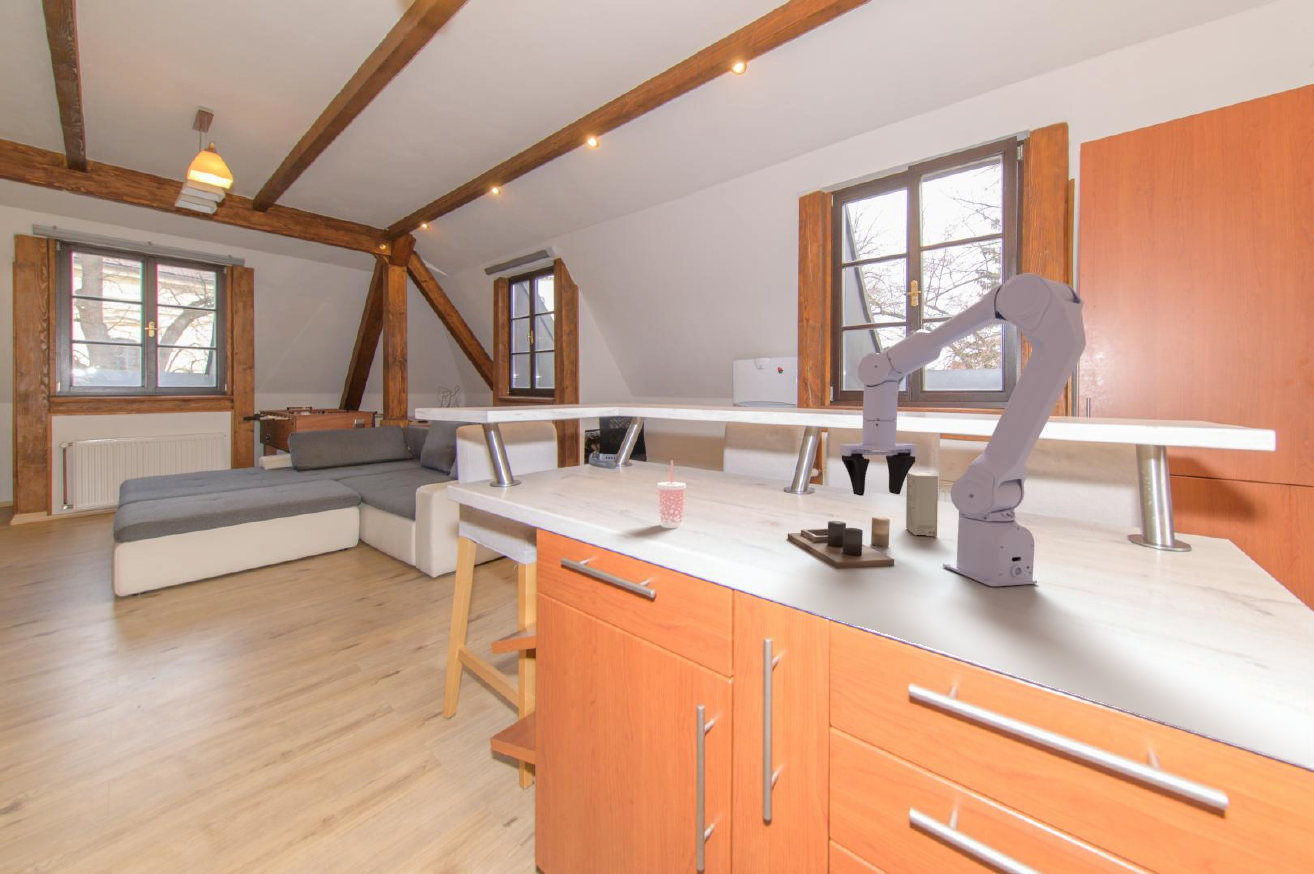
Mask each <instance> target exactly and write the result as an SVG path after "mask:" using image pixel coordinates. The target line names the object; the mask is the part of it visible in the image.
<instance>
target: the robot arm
mask: <svg viewBox="0 0 1314 874" xmlns="http://www.w3.org/2000/svg"><path fill="white" fill-rule="evenodd" d="M1084 304H1085V303H1084V301H1083V299H1082V298H1081V297H1080V296H1079V294H1078V293H1077V292H1076V290H1075V289H1074V288H1073V287H1072V286H1071V285H1069V284H1068V283H1065V282H1062V281H1056V280H1052V279H1049V278H1045V277H1043V276H1042V275H1039V274H1037V273H1033V272H1032V273H1031V272H1027V273H1026V272H1024V273H1020V274H1017V275H1015V276H1013V277H1010V278H1009V279H1008V280H1007V281H1006V282H1005V283H1001V284H998V285H996V286H994V287H992V288H991V289H990V290H989V291H987V292H986V293H985V295H984V296H982V297H981V298H979V299H978V300H977V301H975V302H974V303H972V304H971V305H969V306H967V307H966V308H964V309H963V310H961V311H960V312H958V313H957V314H954V315H953V316H952V317H950V318H949V319H948V320H946V321H944V322H942V324H939V325H938V326H936V327H935V328H933V329H932V330H930V331H928V330H925V329H918V330H910V331H909V332H907V333H906V337H905V338H903V339H902V340H899V341H898V342H896V343H894V344H893V345H892V346H889V345H887V346H886V347H884V348H883V351H882V352H880V353H879V352H878V353H877V352H869V353H867V354H866V355H865V356H864V357H863V358H862V359H861V360H860V362H859V364H858V367H857V377H858V379H859V381H860V382H861V383H862V384H863V400H862V401H863V402H862V403H863V405H862V428H861V429H862V431H861V433H862V435H861V443H848V444H847V443H846V444H840V445H839V446H840V447H839V449H840V451H839V455H840V456H841V461H842V463H843V465H844V466H845V468H846V471H847V473H848V476H849V479H850V482H851V487H852V493H853V495H855V496H856V495H857V496H860V497H861V496H864V494H865V488H866V487H865V486H866V477H867V471H868V467H869V464H870V461H871V460H870V459H869V458H865V457H864V456H885V459H886V463H887V468H888V492H889V493H891V494H894V495H901V491H902V488H903V485H904V483H905V480H906V479H907V473H908V472H910V470H911V468H912V467H913V465H914V464H915V462H916V455H917V444H914V443H897V427H898V426H897V425H898V424H897V423H898V421H897V420H898V403H899V401H898V398H899V397H898V395H899V393H900V386H901V384H902V383H903V381H904V379H905V378H906V376H908V375H910V374H912V373H914V372H915V371H917V370H920V369H921V368H923V367H925V366H927V365H929V364H931V363H933V362H935V361H936V360H938V359H939V357H940V355H941V352H942V350H943V349H944V348H946V347H947V346H950V345H952V344H954V343H956V342H958V341H961V340H962V339H964V338H966V337H968V336H970V335H974V334H975V333H977V332H979V331H981V330H984V329H985V328H987V327H989V326H992V325H1014V327H1016V328H1017V329H1018V330H1020V332H1021V333H1022V335H1023V336H1024V338H1025V339H1026V341H1027V342H1028V344H1029V346H1030V347H1031V349H1032V350H1031V353H1030V356H1029V357H1028V359H1027V362H1026V363H1025V366H1024V368H1023V370H1022V372H1021V374H1020V376H1019V378H1018V380H1017V383H1016V385H1015V386H1014V388H1013V391H1012V393H1011V395H1010V397H1009V398H1008V401H1007V403H1006V405H1005V407H1004V410H1003V411H1002V413H1001V416H1000V418H999V419H998V421H997V424H996V427H995V428H994V430H993V432H992V435H991V436H990V438H989V440H988V442H987V444H986V447H985V449H984V451H983V452H982V453H981V454H980V455H979V456H978V457H976V458H975V459H974V460H973V461H972V462H971V463H969V466H968V467H967V469H966V471H965V473H964V474H963V475H961V476H960V477H958V478H957V479H956V480H955V481H954V482H953V484H952V485H951V489H950V498H951V499H950V500H951V502H952V504H953V506H954V507H955V508H956V509H957V510H958V524H957V544H956V545H957V546H956V549H957V550H956V562H944V563H942V566H943V568H946V569H949V570H951V571H954V572H955V573H958V574H961V575H963V576H965V577H968V578H970V579H973V580H975V581H977V582H980V583H982V584H984V585H987V586H988V587H1005V586H1006V587H1007V586H1017V585H1018V586H1019V585H1033V584H1038V580H1037V579H1035V578H1034V562H1035V561H1034V559H1035V539H1034V536H1033V534H1032V532H1031V531H1030V530H1029V529H1028V528H1026V527H1024V526H1022V525H1020V524H1019V523H1018V522H1017V521H1016V512H1015V509H1017V508H1018V507H1019V506H1021V504H1022V502H1023V500H1024V497H1025V487H1024V486H1025V481H1026V479H1027V477H1028V476H1029V471H1028V469H1027V464H1026V463H1027V460H1028V459H1029V457H1030V455H1031V453H1032V451H1033V449H1034V447H1035V445H1036V443H1037V442H1038V440H1039V438H1040V436H1041V434H1042V432H1043V430H1044V427H1045V426H1046V424H1047V422H1048V421H1049V418H1050V416H1051V415H1052V413H1053V411H1054V409H1055V406H1057V403H1058V401H1059V399H1060V397H1061V395H1062V394H1063V392H1064V390H1065V389H1066V386H1067V383H1068V382H1069V379H1070V378H1071V376H1072V374H1073V372H1074V370H1075V369H1076V367H1077V365H1078V362H1079V361H1080V359H1081V357H1082V355H1083V353H1084V351H1085V348H1086V346H1087V339H1086V334H1085V333H1086V332H1085V327H1084V318H1083V314H1082V313H1083V312H1082V310H1083V307H1084Z"/></svg>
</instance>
